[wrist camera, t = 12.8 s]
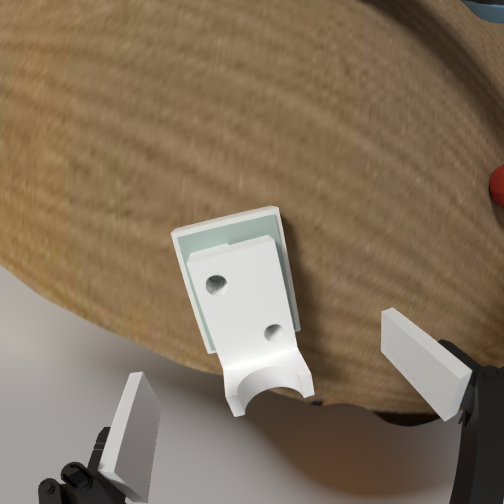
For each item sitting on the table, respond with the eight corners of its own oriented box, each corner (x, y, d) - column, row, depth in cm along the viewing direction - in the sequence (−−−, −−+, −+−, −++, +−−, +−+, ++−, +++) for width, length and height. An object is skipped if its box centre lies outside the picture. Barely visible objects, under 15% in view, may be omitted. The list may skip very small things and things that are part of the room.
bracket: (292, 350, 29) (314, 394, 21) (228, 368, 28) (234, 416, 21) (266, 233, 26) (287, 250, 18) (190, 253, 25) (181, 279, 18)
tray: (271, 205, 28) (279, 207, 25) (293, 318, 31) (301, 331, 28) (175, 228, 28) (170, 233, 24) (208, 339, 31) (208, 355, 28)
